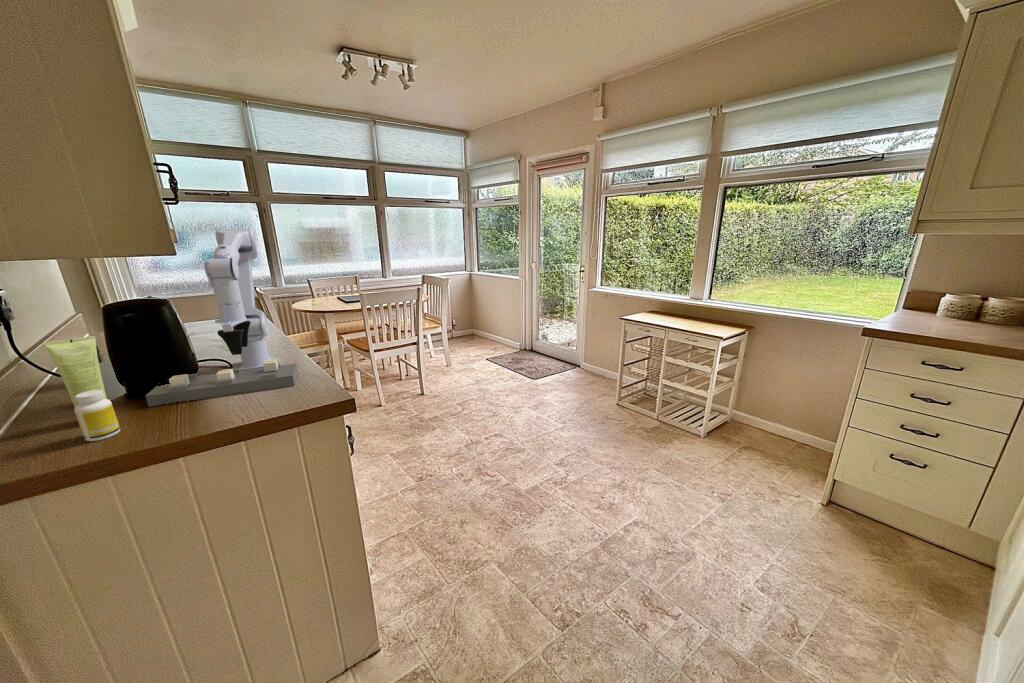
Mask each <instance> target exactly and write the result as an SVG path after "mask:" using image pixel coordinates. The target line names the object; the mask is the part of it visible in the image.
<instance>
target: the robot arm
mask: <svg viewBox="0 0 1024 683" xmlns="http://www.w3.org/2000/svg"><path fill="white" fill-rule="evenodd" d="M215 239H216V240H215V241H216V243H217V245H218V246H216V247H215V250H214V251H213V255H212V257H211V258H208V259H207V260H205V261H204V273H205V275H206V277H207V280H208V283H209V286H210V288H212V289H213V290H212V291H213V294H214V299H215V303H216V307H217V308H216V309H217V312H218V316H219V319H216V320H214V322H215V324H220V325H221V326H222V329H219V330H217V331H216V332H217V335H218V336H219V337H220V338H221V339H222V340H223V342H224V343H225V345H226V346H227V348H228V350H229V352H230V353H231V355H232V356H237V355H240V360H241V365H240V367H239V368H240V371H241V370H249V369H257V368H264V365H263V363H264V361H266V360H274V357H273V356H270V354H269V350H268V349H269V348H268V344H267V341H266V338H265V337H267V336H268V334H269V324H268V320H267V315H266V314H265V313H264V311H263V310H260V309H258V308H257V307H256V302H255V290H254V279H253V278H254V276H253V260H255V259H256V258H258V257H259V255H258V254H259V248H258V240H257V234H256V232H255V230H254V229H253V228H252V227H249V228H217V229H216V230H215Z"/></svg>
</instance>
